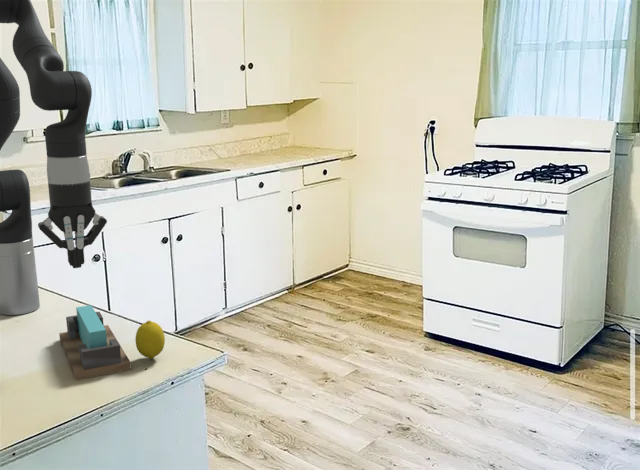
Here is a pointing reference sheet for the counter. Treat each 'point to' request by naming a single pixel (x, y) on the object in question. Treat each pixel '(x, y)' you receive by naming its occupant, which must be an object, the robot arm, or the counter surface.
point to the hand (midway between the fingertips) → (76, 266)
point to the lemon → (150, 339)
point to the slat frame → (92, 353)
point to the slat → (90, 327)
